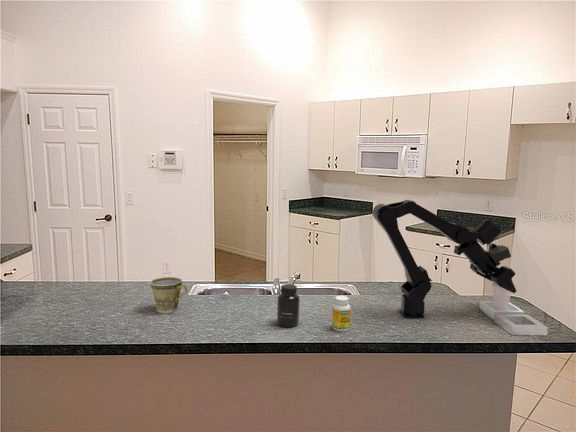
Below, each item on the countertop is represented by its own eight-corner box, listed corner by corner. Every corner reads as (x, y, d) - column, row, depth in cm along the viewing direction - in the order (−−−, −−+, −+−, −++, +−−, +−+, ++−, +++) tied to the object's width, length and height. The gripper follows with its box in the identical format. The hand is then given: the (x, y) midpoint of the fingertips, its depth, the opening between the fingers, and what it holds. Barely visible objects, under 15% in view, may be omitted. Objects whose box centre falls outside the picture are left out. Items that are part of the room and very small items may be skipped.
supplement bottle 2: (342, 323, 128) (343, 293, 126) (353, 329, 123) (354, 298, 122) (328, 327, 125) (329, 296, 124) (340, 333, 120) (341, 301, 119)
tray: (493, 320, 132) (494, 311, 132) (479, 309, 142) (480, 301, 141) (523, 320, 132) (524, 311, 132) (507, 309, 142) (508, 301, 141)
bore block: (511, 335, 121) (512, 327, 120) (493, 321, 131) (494, 313, 131) (546, 335, 121) (547, 327, 121) (526, 321, 131) (527, 314, 131)
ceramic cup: (144, 312, 134) (143, 283, 133) (164, 303, 144) (163, 275, 142) (177, 319, 130) (176, 288, 128) (195, 308, 139) (195, 280, 137)
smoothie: (505, 309, 140) (509, 269, 138) (514, 316, 134) (518, 275, 132) (486, 309, 140) (489, 269, 139) (493, 316, 134) (497, 274, 132)
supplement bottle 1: (283, 329, 122) (283, 290, 121) (273, 321, 128) (273, 284, 127) (303, 325, 126) (303, 287, 124) (292, 318, 132) (293, 281, 130)
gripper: (511, 243, 124) (544, 279, 126) (481, 232, 143) (509, 264, 144) (483, 268, 125) (516, 303, 127) (457, 254, 143) (486, 285, 145)
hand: (507, 287), depth 136 cm, fingers open, 9 cm apart
